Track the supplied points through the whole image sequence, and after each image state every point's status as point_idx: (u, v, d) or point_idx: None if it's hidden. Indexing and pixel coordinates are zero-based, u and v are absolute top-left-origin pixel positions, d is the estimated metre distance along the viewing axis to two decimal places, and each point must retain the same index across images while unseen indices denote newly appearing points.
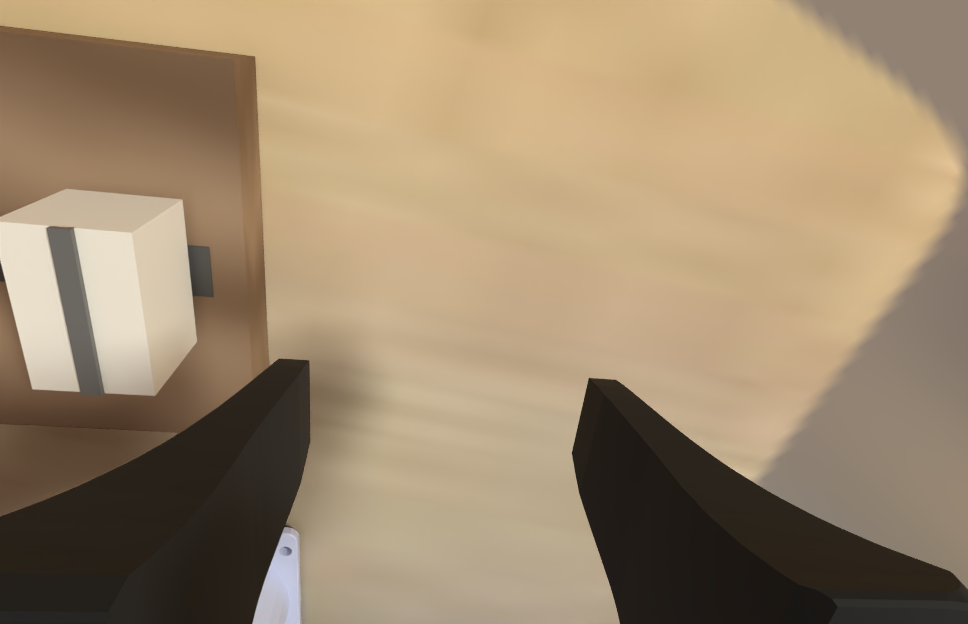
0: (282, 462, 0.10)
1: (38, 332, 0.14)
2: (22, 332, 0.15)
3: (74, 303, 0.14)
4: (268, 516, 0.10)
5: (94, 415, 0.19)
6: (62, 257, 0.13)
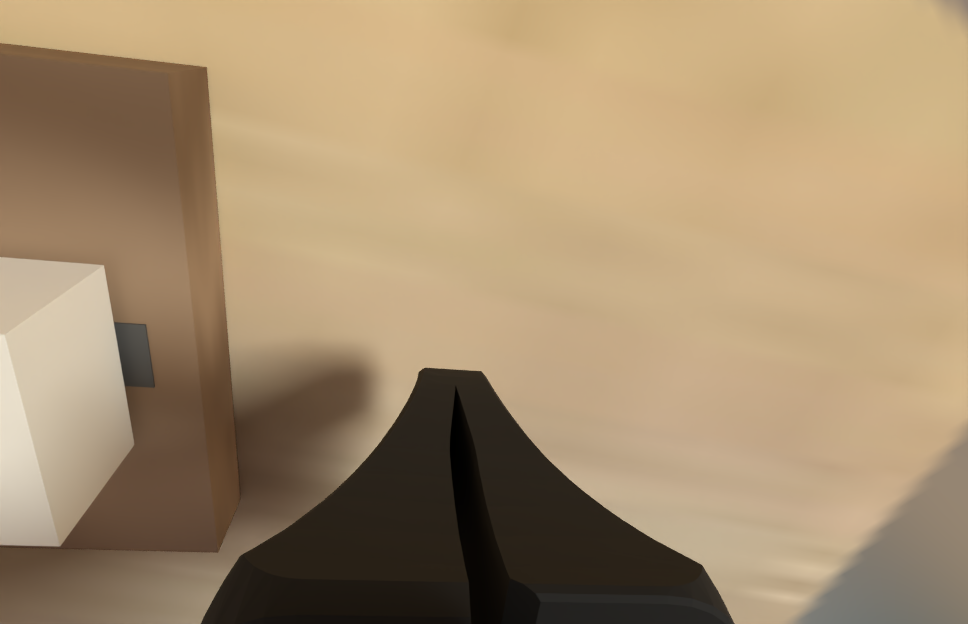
0: None
1: None
2: None
3: None
4: None
5: None
6: None
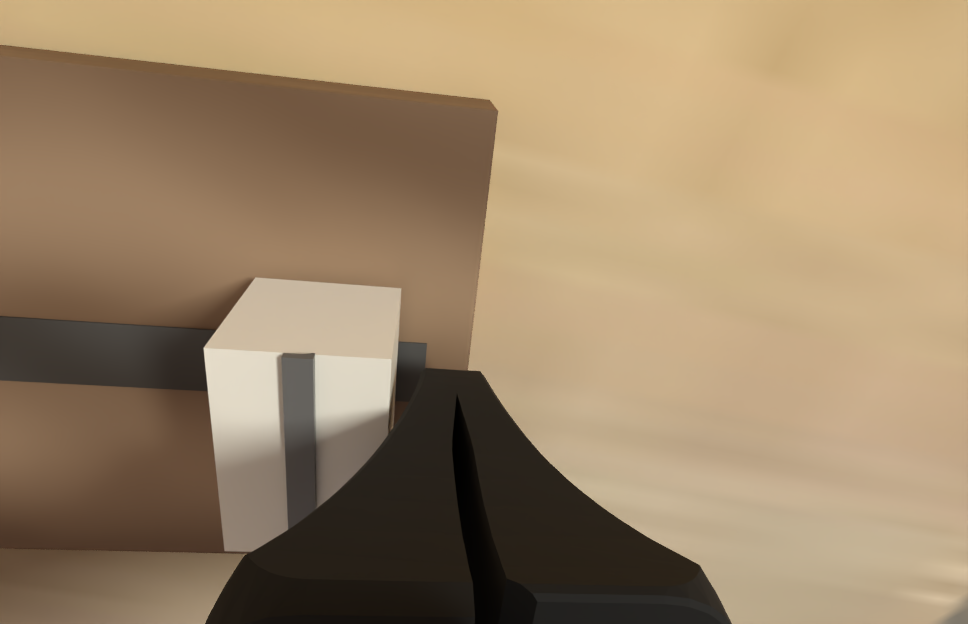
0: None
1: (244, 484, 0.11)
2: (220, 483, 0.11)
3: (301, 450, 0.10)
4: None
5: None
6: (296, 393, 0.10)
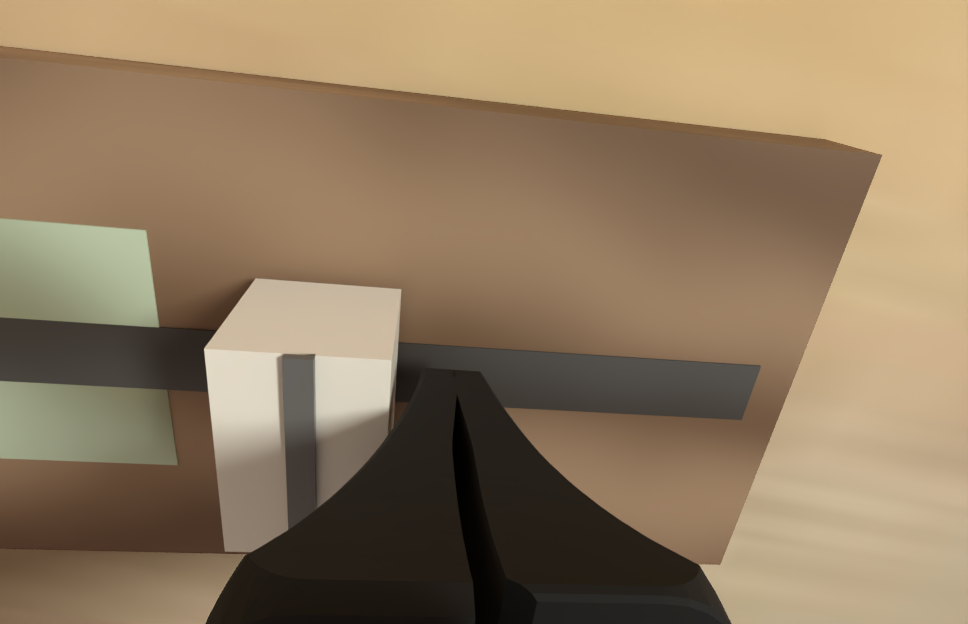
0: None
1: (244, 484, 0.11)
2: (220, 483, 0.11)
3: (302, 451, 0.10)
4: None
5: None
6: (297, 394, 0.10)
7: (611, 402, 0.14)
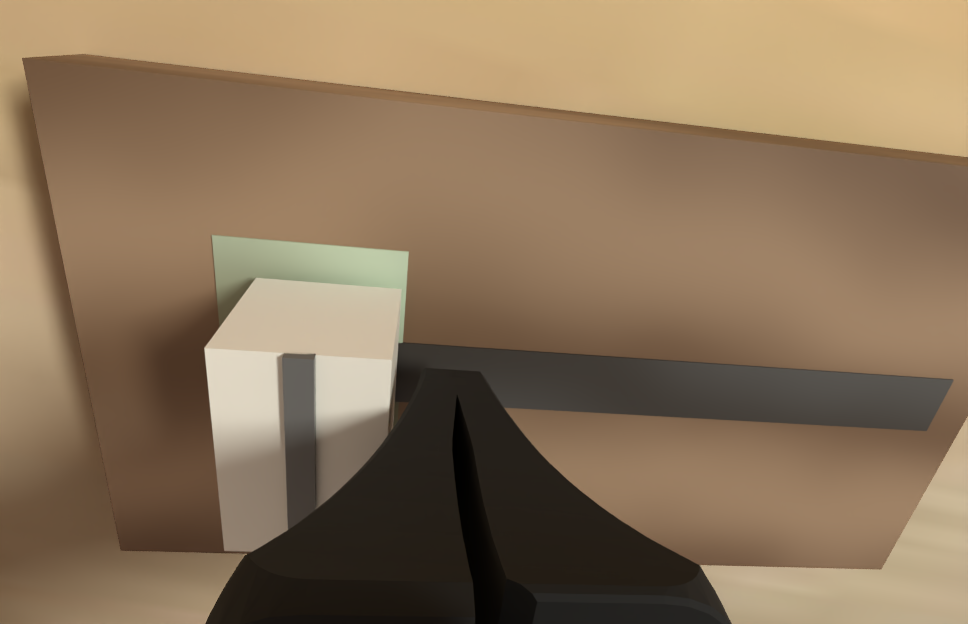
0: None
1: (244, 484, 0.11)
2: (220, 483, 0.11)
3: (301, 451, 0.10)
4: None
5: (729, 552, 0.17)
6: (296, 394, 0.10)
7: (808, 414, 0.15)
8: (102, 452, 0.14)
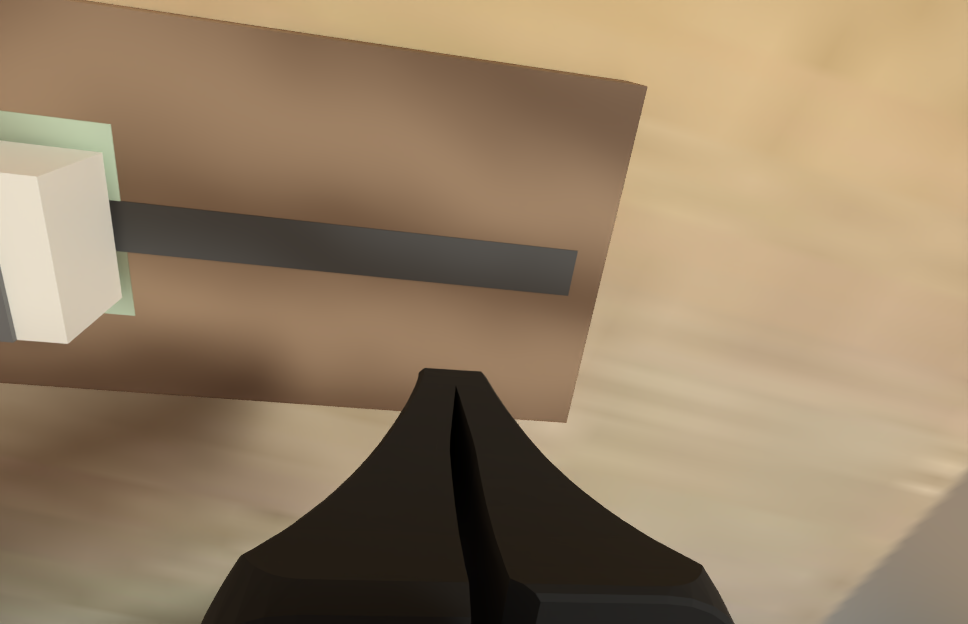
0: None
1: None
2: None
3: None
4: None
5: None
6: None
7: (465, 276, 0.19)
8: None
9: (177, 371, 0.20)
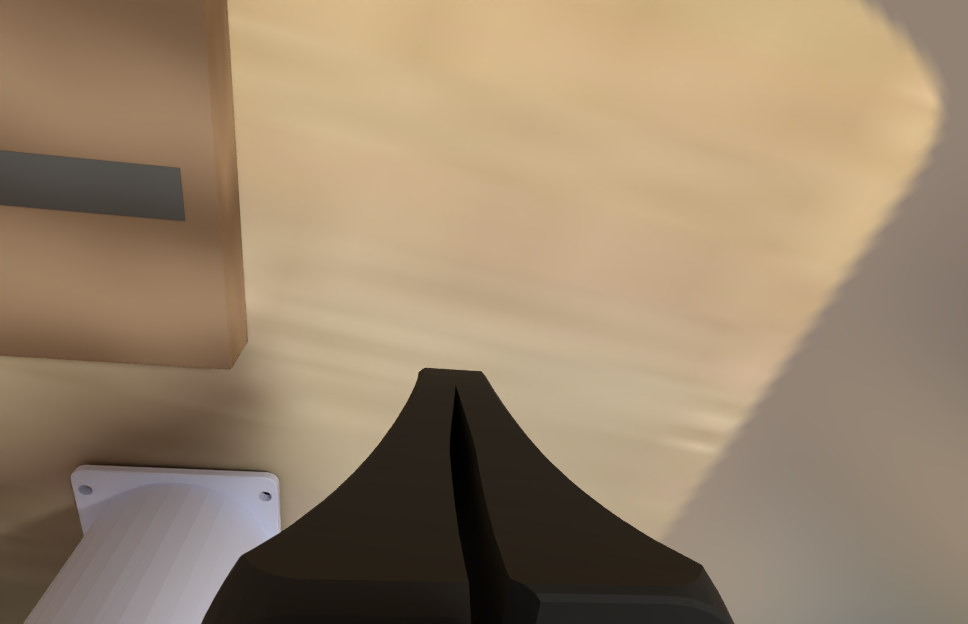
0: None
1: None
2: None
3: None
4: None
5: (68, 345, 0.19)
6: None
7: (58, 199, 0.17)
8: None
9: None
